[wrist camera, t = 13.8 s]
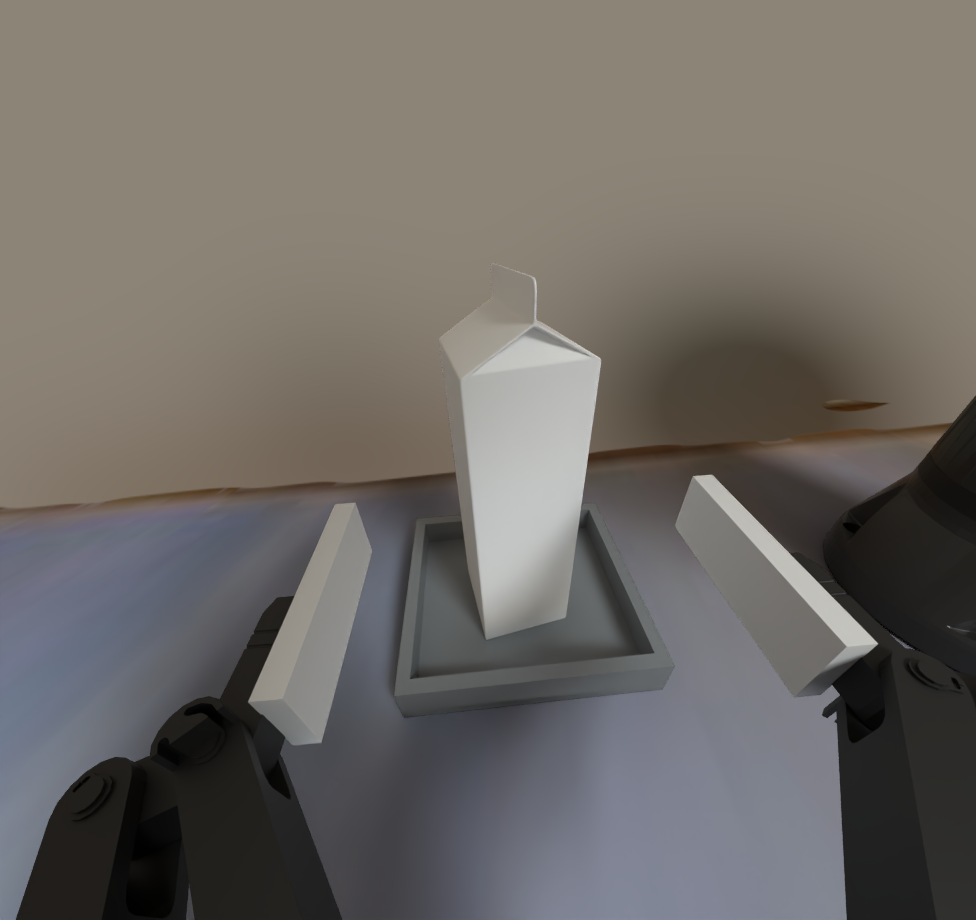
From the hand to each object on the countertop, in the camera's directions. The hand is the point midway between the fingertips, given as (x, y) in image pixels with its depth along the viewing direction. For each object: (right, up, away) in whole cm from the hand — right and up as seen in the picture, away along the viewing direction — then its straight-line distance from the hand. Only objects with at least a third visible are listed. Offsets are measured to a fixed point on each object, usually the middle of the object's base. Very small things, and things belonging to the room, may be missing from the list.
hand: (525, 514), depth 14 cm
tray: (+1, -9, +13) cm, 16 cm away
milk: (+1, -8, +13) cm, 15 cm away
